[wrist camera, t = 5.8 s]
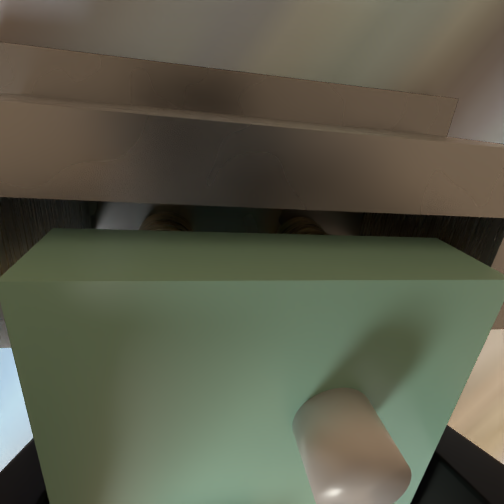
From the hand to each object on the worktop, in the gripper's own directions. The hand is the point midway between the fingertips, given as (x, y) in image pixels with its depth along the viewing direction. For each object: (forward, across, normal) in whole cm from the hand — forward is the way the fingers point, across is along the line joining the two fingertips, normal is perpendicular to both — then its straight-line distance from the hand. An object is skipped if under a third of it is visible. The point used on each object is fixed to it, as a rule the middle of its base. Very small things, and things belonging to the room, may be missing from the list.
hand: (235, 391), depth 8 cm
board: (-1, 0, 0) cm, 1 cm away
